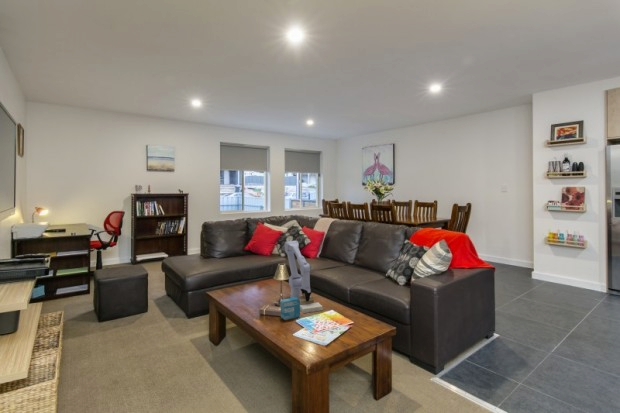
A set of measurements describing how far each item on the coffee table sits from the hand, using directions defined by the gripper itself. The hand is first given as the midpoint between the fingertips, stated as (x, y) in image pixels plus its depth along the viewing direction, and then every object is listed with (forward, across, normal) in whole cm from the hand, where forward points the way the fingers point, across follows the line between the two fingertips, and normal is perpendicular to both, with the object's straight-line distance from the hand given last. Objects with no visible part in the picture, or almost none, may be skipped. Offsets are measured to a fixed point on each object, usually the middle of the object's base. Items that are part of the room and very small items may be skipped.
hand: (306, 299), depth 227 cm
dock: (+3, +11, 0) cm, 11 cm away
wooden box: (+2, 0, 0) cm, 2 cm away
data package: (+4, +19, -17) cm, 25 cm away
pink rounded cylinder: (-1, 0, 0) cm, 1 cm away
